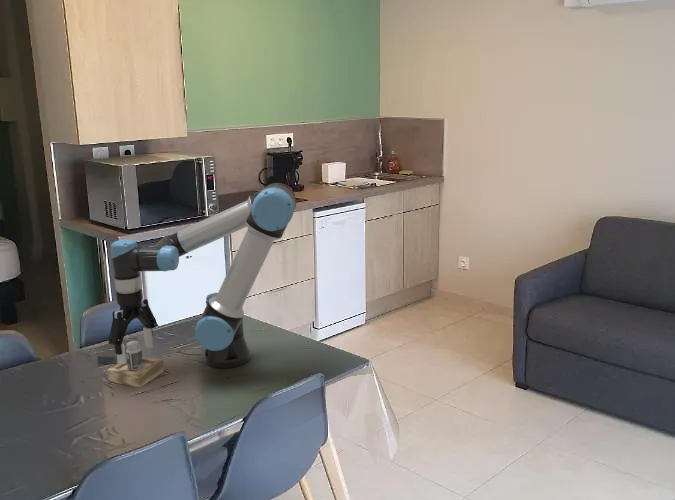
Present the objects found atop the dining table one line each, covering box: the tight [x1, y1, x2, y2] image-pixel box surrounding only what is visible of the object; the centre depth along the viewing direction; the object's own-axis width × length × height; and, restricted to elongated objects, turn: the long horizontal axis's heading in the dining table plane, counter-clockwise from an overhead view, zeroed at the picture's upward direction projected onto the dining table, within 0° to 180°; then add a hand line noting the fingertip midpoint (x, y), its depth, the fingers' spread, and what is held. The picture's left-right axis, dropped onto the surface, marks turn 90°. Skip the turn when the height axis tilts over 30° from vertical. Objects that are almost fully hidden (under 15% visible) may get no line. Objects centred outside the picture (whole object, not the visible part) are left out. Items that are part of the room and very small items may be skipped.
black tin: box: [97, 349, 118, 365], centre depth 216 cm, size 6×6×3 cm
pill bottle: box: [125, 340, 143, 371], centre depth 203 cm, size 5×5×8 cm
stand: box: [106, 356, 165, 388], centre depth 204 cm, size 12×12×4 cm
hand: (136, 355), depth 203 cm, fingers open, 12 cm apart
